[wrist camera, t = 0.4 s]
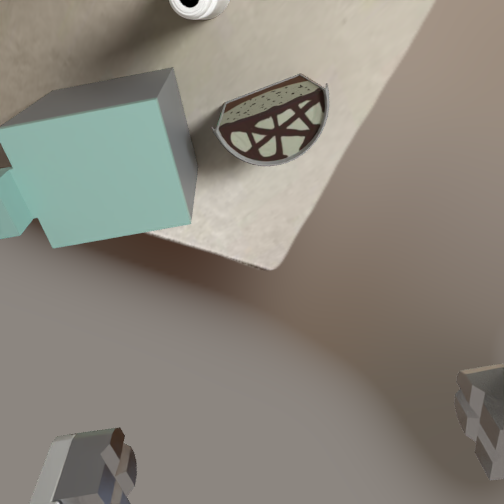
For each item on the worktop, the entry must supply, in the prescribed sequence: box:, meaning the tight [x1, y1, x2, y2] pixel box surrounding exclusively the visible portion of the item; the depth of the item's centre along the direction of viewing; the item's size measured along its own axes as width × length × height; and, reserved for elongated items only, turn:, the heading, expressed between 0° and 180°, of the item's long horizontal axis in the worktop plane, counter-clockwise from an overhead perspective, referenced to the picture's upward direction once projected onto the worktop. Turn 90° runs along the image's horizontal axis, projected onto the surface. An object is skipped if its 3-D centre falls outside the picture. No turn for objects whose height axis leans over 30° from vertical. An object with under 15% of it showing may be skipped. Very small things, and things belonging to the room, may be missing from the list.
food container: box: [211, 73, 329, 166], centre depth 48 cm, size 12×6×10 cm, turn 110°
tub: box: [0, 68, 198, 219], centre depth 46 cm, size 12×14×14 cm
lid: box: [0, 97, 191, 248], centre depth 39 cm, size 12×17×4 cm
